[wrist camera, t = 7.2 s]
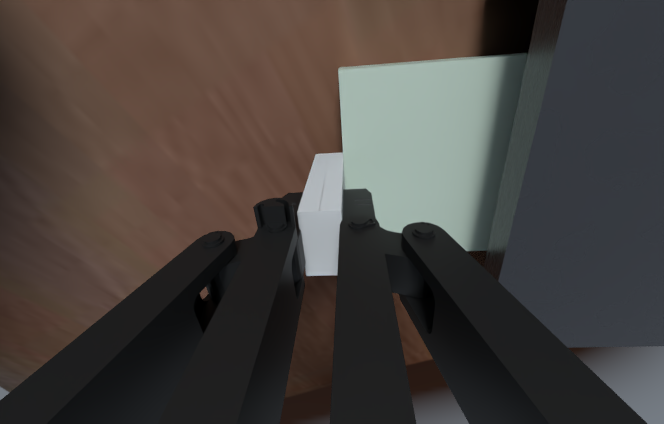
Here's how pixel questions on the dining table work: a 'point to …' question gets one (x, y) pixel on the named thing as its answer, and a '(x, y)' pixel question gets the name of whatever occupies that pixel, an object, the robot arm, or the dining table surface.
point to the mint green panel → (431, 140)
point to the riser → (587, 176)
